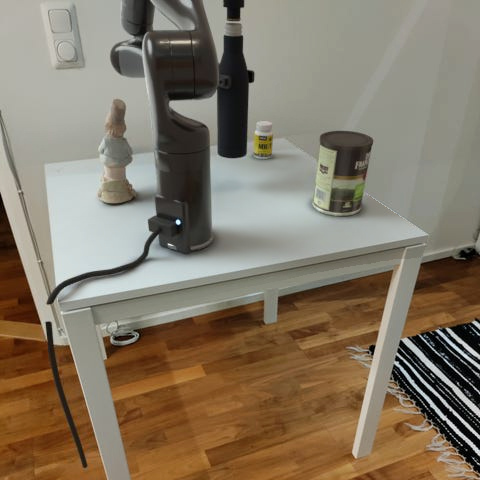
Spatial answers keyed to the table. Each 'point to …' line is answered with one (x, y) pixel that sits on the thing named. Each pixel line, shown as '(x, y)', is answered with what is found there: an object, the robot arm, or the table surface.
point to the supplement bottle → (263, 140)
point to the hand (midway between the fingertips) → (241, 79)
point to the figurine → (115, 157)
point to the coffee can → (341, 172)
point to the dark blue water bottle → (233, 89)
